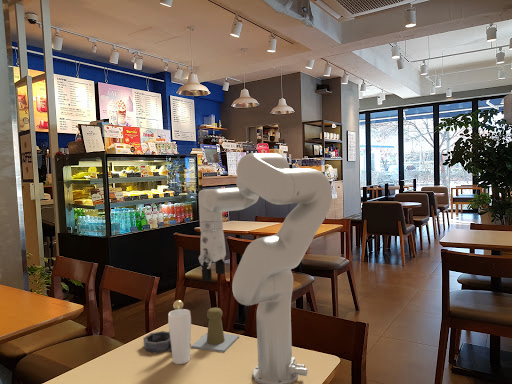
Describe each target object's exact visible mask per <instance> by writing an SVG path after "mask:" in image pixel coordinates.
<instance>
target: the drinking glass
mask: <svg viewBox="0 0 512 384" xmlns="http://www.w3.org/2000/svg"><path fill="white" fill-rule="evenodd" d="M167 316H168V318H167V319H168V322H167V323H168V332H169V334H170V341H171V349H172V352H171V357H172V362H173V363H174V364H177V365H184V364H187V363H188V362H189V361H190V360H191V347H190V344H191V335H192V315H191V310H189V309H185V308H182V309H178V310H175V309H174V310H171V311H169V312H168V315H167Z"/></svg>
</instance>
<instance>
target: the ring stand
mask: <svg viewBox="0 0 512 384" xmlns="http://www.w3.org/2000/svg"><path fill="white" fill-rule="evenodd" d="M172 306H173V309H174V310H178V309H184V308H183V307H184V302H183V301H182V300H180V299H177V300H175V301H174V302H173V305H172ZM191 346H192V344H191V343H190V348H191ZM143 348H144V350H145V352H147V353H153V354H158V353H162V352H163V353H164V352H169V353H170V352H171V353H172V349H171V341H170V334H169V331H164V330H163V331H162V330H161V331H156V332H151V333H149V334H148V335H145V336H144V337H143Z"/></svg>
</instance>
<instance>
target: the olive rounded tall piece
mask: <svg viewBox="0 0 512 384" xmlns="http://www.w3.org/2000/svg"><path fill="white" fill-rule="evenodd" d="M206 316H207V319H208V324H207V325H208V327H207V332H208V334H207V343H208V344H211V345H217V344H221V343H223V342H224V341H225V339H224V334H225V333H224V329H223V321H222V317H223V310H222V309H221V308H220V307H211V308H209V309H208V310H207V313H206Z"/></svg>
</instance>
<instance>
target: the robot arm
mask: <svg viewBox="0 0 512 384" xmlns="http://www.w3.org/2000/svg"><path fill="white" fill-rule="evenodd" d="M235 183H236V187H225V188H224V187H223V188H208V189H201V190H200V191H198V213H199V231H200V245H199V246H200V253H199V254H200V255H199V256H198V261H199V265H200V269H201V279H202V282H203V281H204V282H212V281H213V276H212V268H211V265H212V262H213V263H215V265H214V266H215V274H217V275H224V274H225V272H226V271H225V270H226V269H225V268H226V267H225V261H226V260H225V258H226V256H227V252H226V250H227V249H226V241H225V240H226V239H225V233H224V227H223V213H224V212H225V213H226V212H234V211H241V210H244V209H247V208H249V207H251V206H253V205H254V204H256V203H257V202H258V201H259V198H262V199H263V200H265V201H266V202H268V203H270V204H273V205H290V204H296V206H295V207H294V208H293V209H292V210H291V211H290V212H289V213H288V214H287V215H286V216H285V218H284V220H283V222H282V225H281V227H280V229H279V231H277V233H275V234H273V235H268V236H263V237H259V238H256V239H254V240H252V241H251V242H250V243H249V244H248V245H247V247H246V248H245V250H244V253H243V254H242V257H241V259H240V261H239V264H238V266H237V267H236V270H235V273H234V275H233V278H232V284H231V287H232V294H233V297H234V299H235V300H236V301H237V302H238V303H239V304H240V305H243V306H253V305H257V304H258V305H257V309H256V336H257V337H256V338H257V339H256V340H257V341H256V342H257V344H256V345H257V365H256V366H255V367H254V368H253V370H252V378H253V380H254V381H255V382H256V383H258V384H292V383H294V382H295V381H297V379H298V378H299V376H302V377H307V376H308V368H306V364H302V363H298V362H296V357H294V356H293V354H292V353H293V351H292V350H293V349H292V346H293V344H292V343H293V342H292V321H291V320H292V317H291V311H292V308H291V307H292V296H293V289H294V275H293V272H292V269H295V268H297V267H298V266H299V265H300V263H301V262H302V261H303V259H304V256H305V255H306V253H307V251H308V249H309V247H310V245H311V244H312V242H313V240H314V237H315V236H316V234H317V232H318V230H319V229H320V227H321V226H322V224H323V222H324V221H325V219H326V217H327V215H328V214H329V211H330V208H331V206H332V203H333V202H332V200H333V190H332V186H331V182H330V180H329V178H328V177H327V175H326V174H324V172H322V171H320V170H318V169H313V168H305V167H304V168H290V164H289V161H288V160H287V159H286V158H285V157H284V156H283V155H281V154H279V153H271V152H259V153H258V152H254V153H253V152H250V153H246V154H245V155H243V156H242V157H241V158H240V159H239V161H238V163H237V165H236V179H235Z"/></svg>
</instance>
